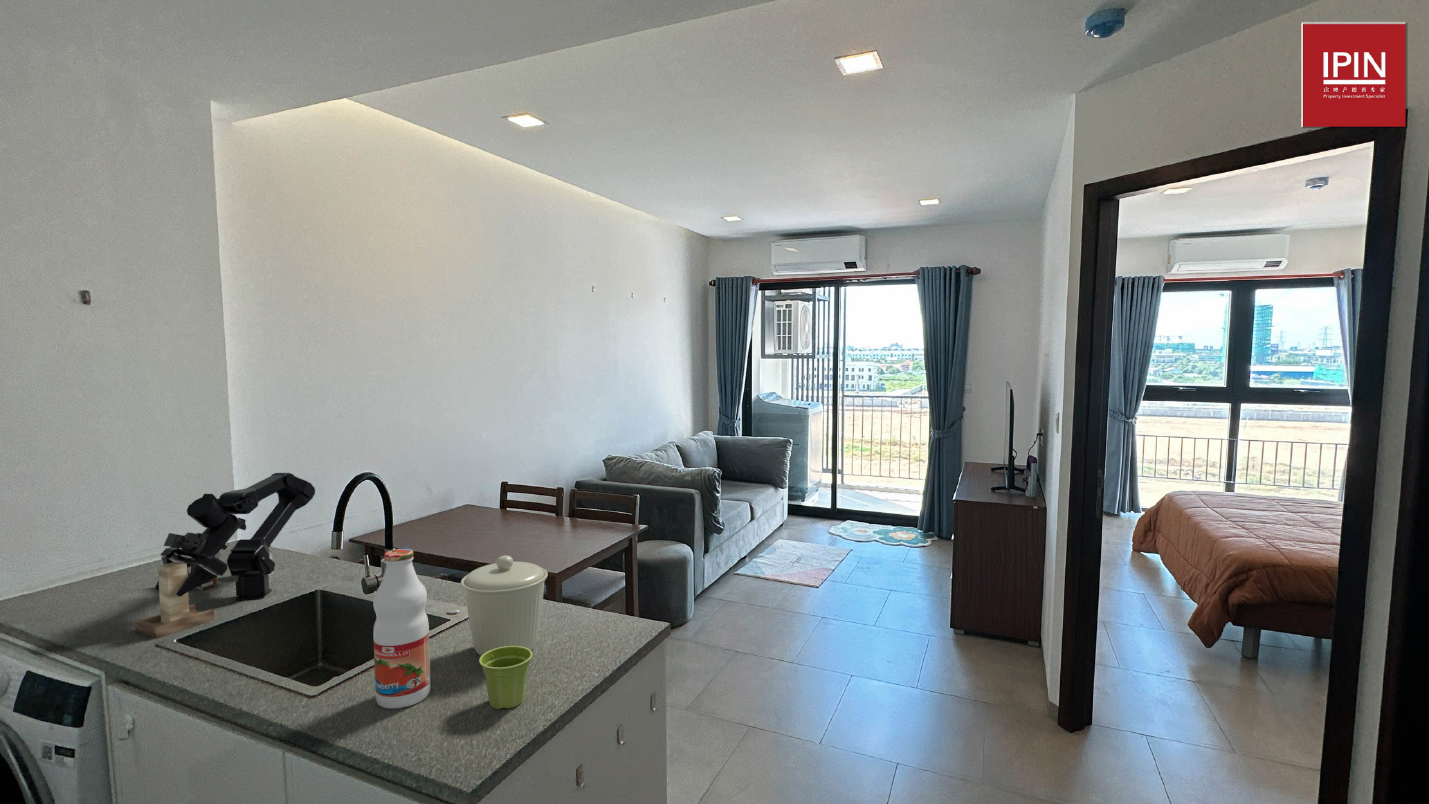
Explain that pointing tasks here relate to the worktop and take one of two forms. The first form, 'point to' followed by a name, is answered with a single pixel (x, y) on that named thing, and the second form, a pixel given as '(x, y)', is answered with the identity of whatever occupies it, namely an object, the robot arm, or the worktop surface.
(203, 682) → the worktop surface
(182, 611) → the birch peg
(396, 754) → the worktop surface
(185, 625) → the walnut rack
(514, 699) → the plant pot
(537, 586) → the canister
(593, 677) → the worktop surface
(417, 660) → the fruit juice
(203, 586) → the food container
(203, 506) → the robot arm
